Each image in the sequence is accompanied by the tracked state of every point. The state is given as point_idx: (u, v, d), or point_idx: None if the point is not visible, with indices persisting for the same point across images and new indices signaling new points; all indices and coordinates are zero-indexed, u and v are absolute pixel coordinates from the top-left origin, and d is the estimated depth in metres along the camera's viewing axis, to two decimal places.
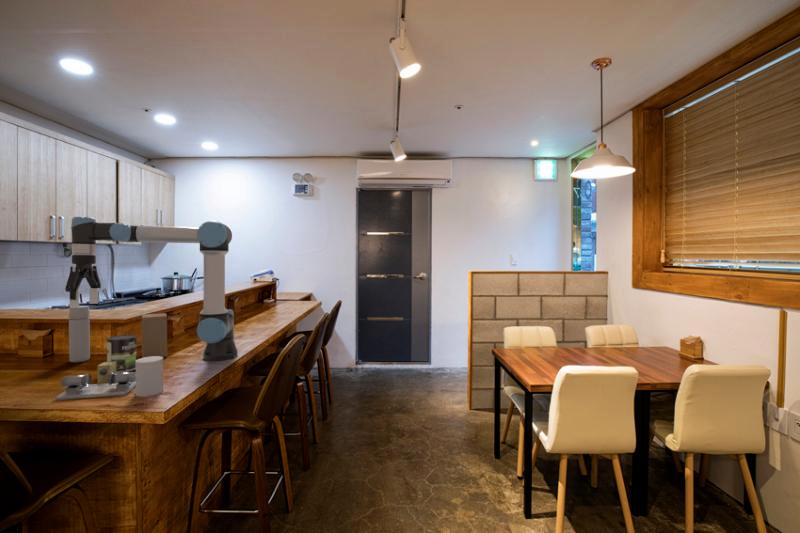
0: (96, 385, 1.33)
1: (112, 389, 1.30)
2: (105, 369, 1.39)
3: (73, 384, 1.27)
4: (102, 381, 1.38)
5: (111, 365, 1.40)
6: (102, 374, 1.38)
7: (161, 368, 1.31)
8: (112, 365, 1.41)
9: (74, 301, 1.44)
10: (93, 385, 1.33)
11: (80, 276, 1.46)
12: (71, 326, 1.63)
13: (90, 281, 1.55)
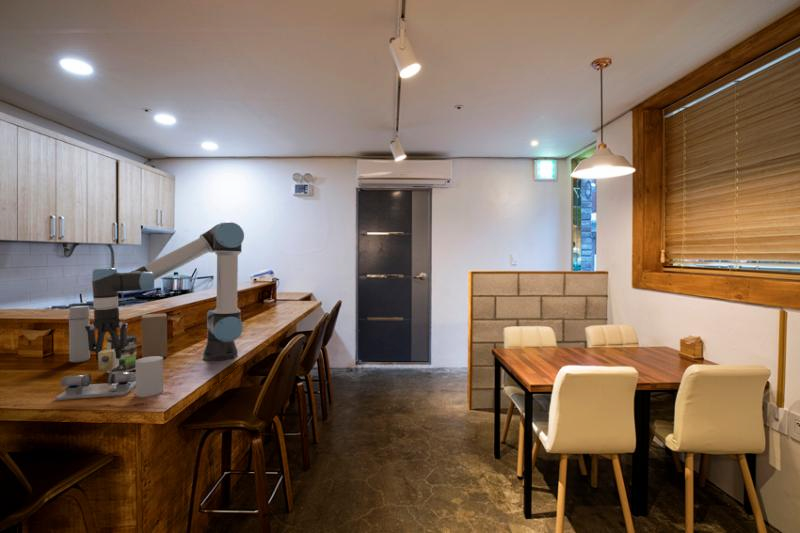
0: (96, 385, 1.33)
1: (112, 389, 1.30)
2: (107, 356, 1.39)
3: (73, 384, 1.27)
4: (104, 368, 1.39)
5: None
6: (104, 361, 1.39)
7: (161, 368, 1.31)
8: None
9: None
10: (93, 385, 1.33)
11: None
12: (71, 326, 1.63)
13: None
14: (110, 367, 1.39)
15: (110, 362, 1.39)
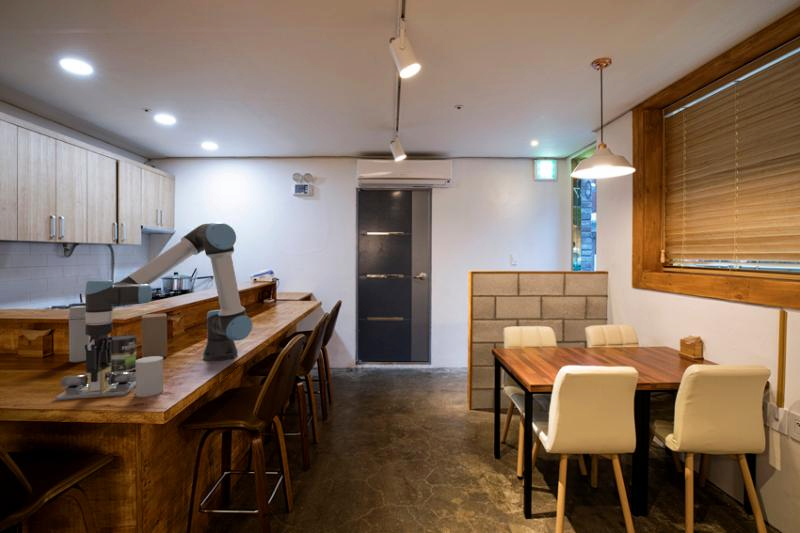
0: None
1: (112, 389, 1.30)
2: (108, 372, 1.31)
3: (73, 384, 1.27)
4: (107, 385, 1.30)
5: None
6: (107, 378, 1.30)
7: (161, 368, 1.31)
8: None
9: (95, 383, 1.27)
10: None
11: (98, 352, 1.28)
12: (71, 326, 1.63)
13: (101, 356, 1.32)
14: None
15: None
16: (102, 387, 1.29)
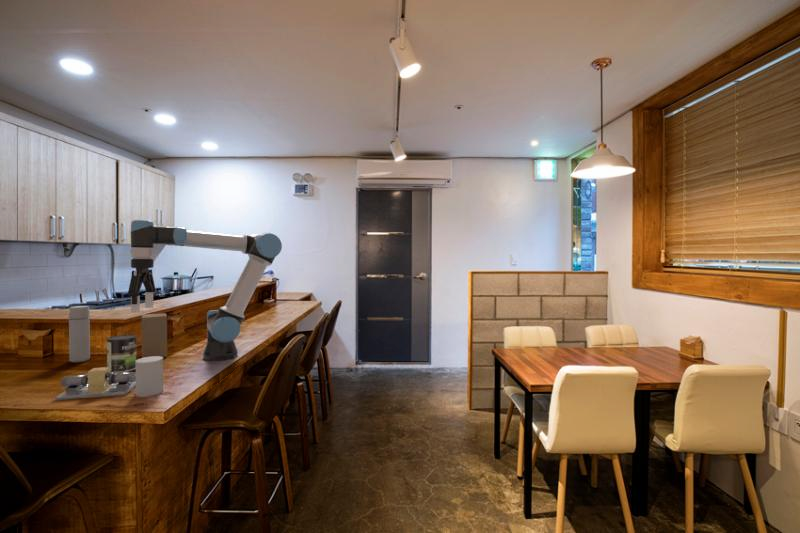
0: None
1: (112, 389, 1.30)
2: (108, 372, 1.31)
3: (73, 384, 1.27)
4: (107, 385, 1.30)
5: None
6: (107, 378, 1.30)
7: (161, 368, 1.31)
8: None
9: (135, 305, 1.42)
10: None
11: (140, 280, 1.45)
12: (71, 326, 1.63)
13: (147, 285, 1.53)
14: None
15: None
16: (102, 387, 1.29)
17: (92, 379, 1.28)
